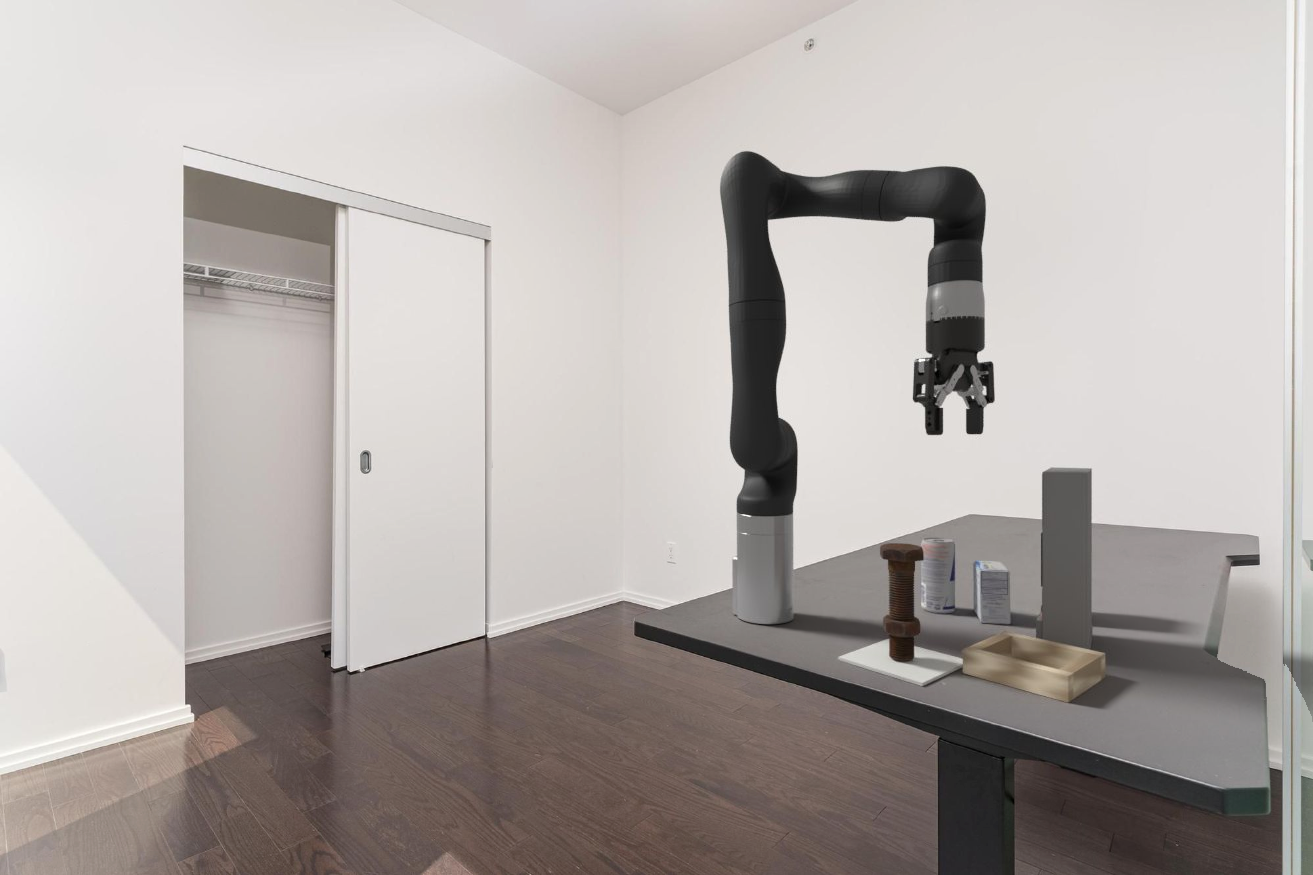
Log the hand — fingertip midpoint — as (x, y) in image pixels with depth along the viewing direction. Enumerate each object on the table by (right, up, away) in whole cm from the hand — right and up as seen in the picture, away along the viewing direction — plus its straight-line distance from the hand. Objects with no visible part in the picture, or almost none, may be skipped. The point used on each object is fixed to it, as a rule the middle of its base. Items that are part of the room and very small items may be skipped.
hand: (954, 434), depth 93 cm
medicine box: (+13, -30, +16) cm, 37 cm away
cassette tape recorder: (+17, -30, +2) cm, 35 cm away
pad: (-9, -30, -4) cm, 32 cm away
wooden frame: (+6, -30, -10) cm, 32 cm away
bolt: (-9, -30, -5) cm, 32 cm away
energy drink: (+7, -30, +21) cm, 37 cm away
